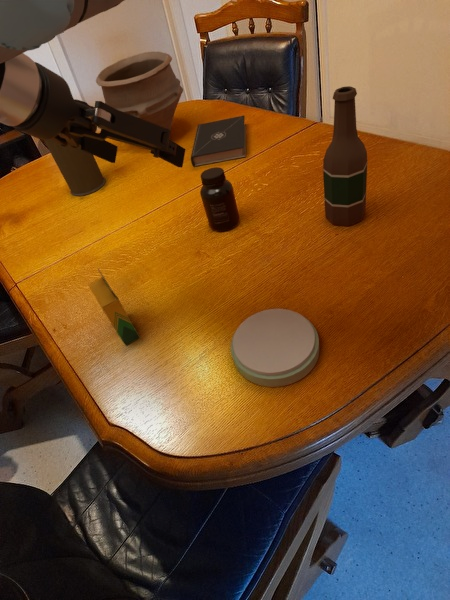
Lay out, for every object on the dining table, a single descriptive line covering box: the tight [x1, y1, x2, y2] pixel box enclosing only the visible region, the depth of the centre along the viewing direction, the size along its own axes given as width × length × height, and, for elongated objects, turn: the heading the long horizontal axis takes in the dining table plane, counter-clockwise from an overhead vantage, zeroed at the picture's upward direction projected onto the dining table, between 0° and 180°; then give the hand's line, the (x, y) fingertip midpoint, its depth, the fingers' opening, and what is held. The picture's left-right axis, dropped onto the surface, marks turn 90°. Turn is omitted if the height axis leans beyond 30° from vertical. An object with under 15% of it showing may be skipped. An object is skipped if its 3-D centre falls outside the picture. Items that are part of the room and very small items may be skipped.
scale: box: [230, 308, 320, 388], centre depth 60 cm, size 13×13×3 cm
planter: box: [95, 51, 184, 131], centre depth 124 cm, size 25×24×22 cm
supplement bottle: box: [199, 166, 241, 232], centre depth 84 cm, size 7×7×12 cm
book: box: [190, 115, 247, 168], centre depth 116 cm, size 22×15×3 cm
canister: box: [43, 139, 106, 197], centre depth 110 cm, size 11×10×20 cm
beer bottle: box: [322, 85, 368, 227], centre depth 73 cm, size 8×8×24 cm
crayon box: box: [88, 268, 141, 347], centre depth 67 cm, size 7×3×12 cm, turn 32°
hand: (146, 156), depth 63 cm, fingers open, 13 cm apart
